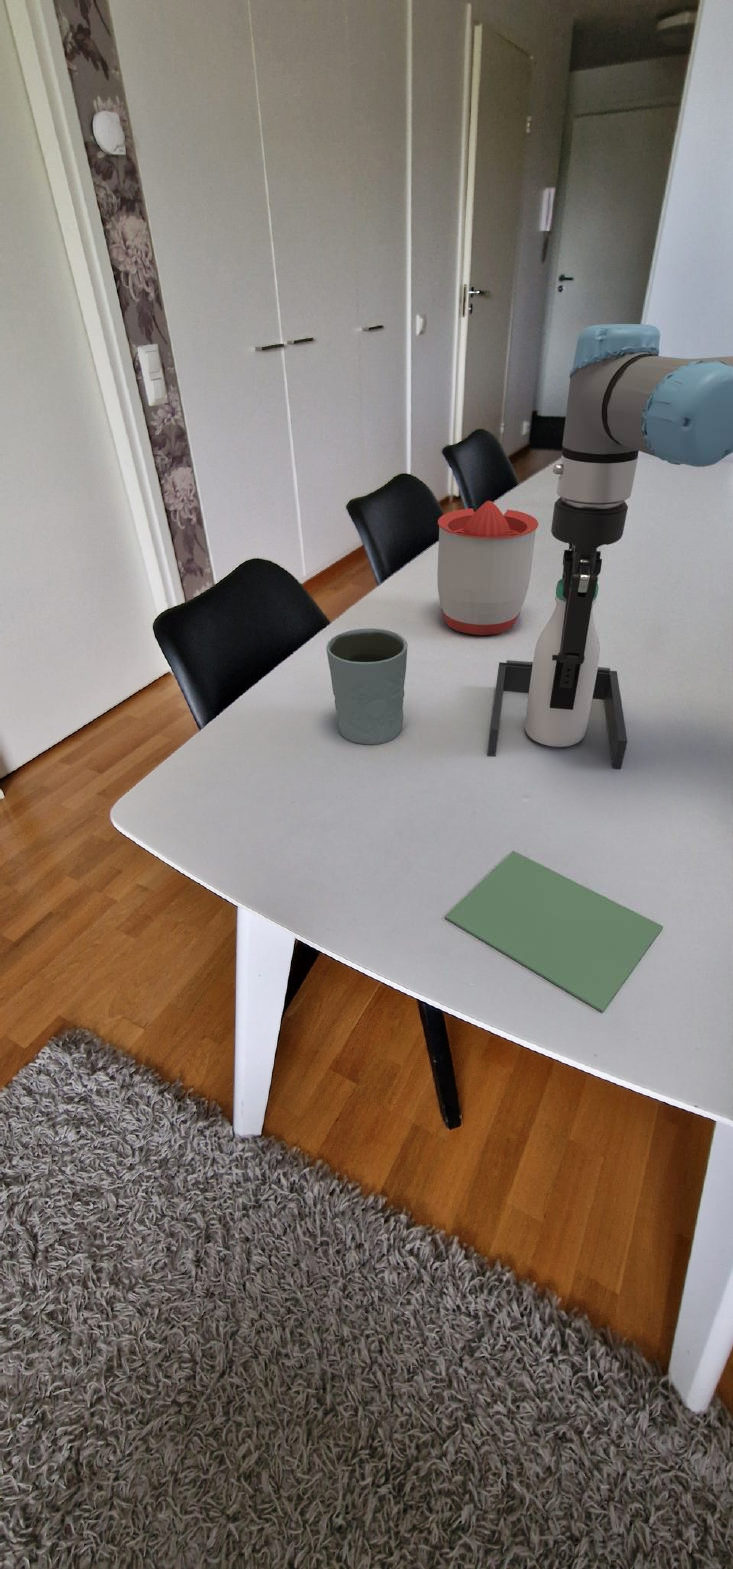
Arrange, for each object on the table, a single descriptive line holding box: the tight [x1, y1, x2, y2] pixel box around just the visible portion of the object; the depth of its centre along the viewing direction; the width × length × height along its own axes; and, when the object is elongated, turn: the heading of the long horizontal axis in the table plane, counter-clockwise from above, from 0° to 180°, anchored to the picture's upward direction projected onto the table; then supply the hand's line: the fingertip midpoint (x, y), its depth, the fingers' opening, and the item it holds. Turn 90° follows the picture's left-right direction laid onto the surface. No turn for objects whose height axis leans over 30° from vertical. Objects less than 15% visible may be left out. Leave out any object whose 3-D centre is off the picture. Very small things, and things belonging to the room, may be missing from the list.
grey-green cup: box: [326, 627, 409, 746], centre depth 90 cm, size 10×10×12 cm
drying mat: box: [444, 850, 664, 1014], centre depth 65 cm, size 16×12×1 cm
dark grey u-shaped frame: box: [487, 659, 628, 770], centre depth 92 cm, size 18×16×5 cm
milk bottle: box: [524, 577, 601, 748], centre depth 85 cm, size 8×8×20 cm
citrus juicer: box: [436, 500, 539, 636], centre depth 115 cm, size 16×17×20 cm
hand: (561, 690), depth 87 cm, fingers closed on milk bottle, 8 cm apart
